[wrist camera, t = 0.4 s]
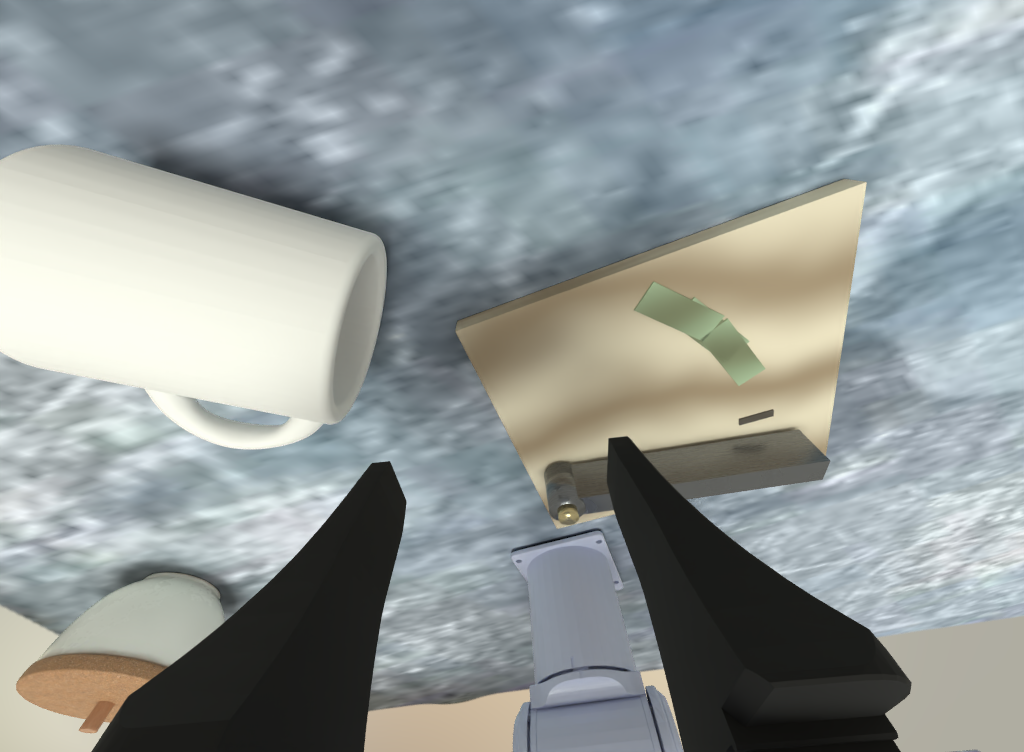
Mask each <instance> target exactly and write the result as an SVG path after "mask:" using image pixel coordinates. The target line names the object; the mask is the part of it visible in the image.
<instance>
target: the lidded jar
mask: <svg viewBox="0 0 1024 752" xmlns="http://www.w3.org/2000/svg"><path fill="white" fill-rule="evenodd" d="M220 596H221V595H220V592H219V591H218V589H217V588H216V587H215V586H213V585H212V584H210V583H209V582H207V581H205V580H203V579H200V578H198V577H195V576H192V575H187V574H182V573H175V572H161V573H155V574H151V575H149V576H147V577H146V578H145V579H144V580H142V581H138V582H135V583H132V584H129V585H127V586H125V587H122V588H120V589H118V590H116V591H114V592H112V593H110V594H109V595H107V596H105V597H104V598H102V599H101V600H99V601H98V602H97V603H95V604H94V605H92V606H91V607H90V608H89V609H87V610H86V611H85V612H84V613H83V614H82V615H80V616H79V617H78V618H77V619H76V620H75V621H74V622H73V623H72V624H71V625H70V626H69V627H67V628H66V629H65V630H64V631H63V632H62V633H61V634H60V636H59V637H58V638H57V639H56V640H55V641H54V642H53V643H52V644H51V645H50V646H49V648H48V649H47V650H46V651H45V652H44V654H43V655H42V656H41V657H40V658H39V659H38V661H36V662H35V663H33V664H32V665H31V666H30V667H29V668H28V669H27V670H26V671H25V672H24V674H23V675H22V676H21V677H20V679H19V680H18V681H17V684H16V690H17V691H18V693H19V694H20V695H21V696H22V697H23V698H24V699H26V700H27V701H29V702H31V703H33V704H35V705H37V706H39V707H42V708H44V709H47V710H50V711H53V712H57V713H59V714H63V715H68V716H72V717H77V718H82V719H86V720H85V722H84V723H83V725H82V726H81V727H80V729H79V731H81V732H85V733H96V732H97V731H98V729H99V728H100V726H101V725H102V723H103V722H111V721H112V720H113V718H114V717H115V715H116V713H117V712H118V710H119V709H120V707H121V706H122V704H123V703H124V701H125V700H126V698H127V697H128V696H129V695H130V694H132V693H133V692H135V691H136V690H137V689H139V688H140V687H142V686H143V685H144V684H146V683H147V682H148V681H150V680H151V679H152V678H154V677H155V676H156V675H158V674H159V673H160V672H162V671H163V670H165V669H166V668H167V667H169V666H170V665H171V664H173V663H174V662H175V661H177V660H178V659H179V658H181V657H182V656H183V655H185V654H186V653H187V652H188V651H190V650H191V649H192V648H194V647H195V646H196V645H197V644H199V643H200V642H201V641H202V640H203V639H205V638H206V637H207V636H208V635H210V634H211V633H212V632H213V631H215V630H216V629H217V628H218V627H219V626H221V625H222V624H223V623H224V622H225V620H224V612H223V608H222V605H221V603H220V601H219V600H220Z"/></svg>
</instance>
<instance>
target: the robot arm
mask: <svg viewBox="0 0 1024 752" xmlns="http://www.w3.org/2000/svg"><path fill="white" fill-rule="evenodd" d="M607 485H608V489H609V493H610V497H611V501H612V505H613V509H614V512H615V515H616V518H617V520H618V523H619V526H620V529H621V531H622V534H623V537H624V539H625V542H626V545H627V547H628V550H629V553H630V555H631V558H632V561H633V564H634V566H635V569H636V572H637V574H638V577H639V580H640V583H641V586H642V589H643V592H644V595H645V599H646V603H647V606H648V610H649V614H650V617H651V621H652V625H653V628H654V632H655V636H656V640H657V644H658V647H659V651H660V655H661V659H662V663H663V667H664V671H665V675H666V679H667V683H668V687H669V691H670V695H671V698H672V703H673V707H674V711H675V716H676V720H677V724H678V729H679V732H680V737H681V741H682V745H681V742H680V738H679V735H678V732H677V729H676V726H675V723H674V719H673V716H672V713H671V711H670V708H669V705H668V703H667V700H666V698H665V696H663V695H662V694H661V693H660V692H659V691H657V690H656V688H655V687H654V686H646V694H647V697H646V694H645V690H644V686H643V682H642V678H641V675H640V672H639V671H637V670H636V666H635V662H634V658H633V654H632V651H631V647H630V643H629V639H628V635H627V631H626V628H625V624H624V620H623V616H622V612H621V609H620V605H619V601H618V597H617V593H616V591H617V590H621V589H622V588H623V583H622V580H621V578H620V575H619V573H618V570H617V568H616V565H615V563H614V560H613V558H612V555H611V553H610V551H609V548H608V546H607V543H606V541H605V538H604V536H603V533H602V532H600V531H594V532H590V533H586V534H582V535H578V536H574V537H570V538H566V539H562V540H558V541H554V542H550V543H546V544H542V545H538V546H534V547H530V548H526V549H522V550H518V551H514V552H512V553H511V559H512V561H513V562H514V564H515V565H516V567H517V568H518V570H519V571H520V573H521V574H522V576H523V577H524V578H525V580H526V581H527V583H528V591H529V605H530V619H531V632H532V646H533V660H534V674H535V685H531V686H530V702H525V703H523V705H522V707H521V709H520V711H519V713H518V715H517V717H516V720H515V724H514V733H513V752H683V750H684V752H901V751H900V750H899V749H898V747H897V746H896V744H895V742H894V741H893V740H895V739H897V738H898V734H897V732H896V730H895V729H894V727H893V726H892V724H891V723H890V721H889V720H888V718H887V717H886V715H885V713H886V712H888V711H889V710H890V709H892V708H893V707H894V706H896V705H897V704H898V703H900V702H901V701H902V700H904V699H905V698H906V697H907V696H908V695H909V694H910V690H911V682H910V680H909V679H908V678H907V676H906V675H905V674H904V672H903V671H902V670H901V668H900V667H899V666H898V664H897V663H896V661H895V660H894V659H893V657H892V656H891V655H890V654H889V652H888V651H887V650H886V648H885V647H884V646H883V645H882V644H881V643H880V641H879V640H878V639H877V638H876V637H875V636H874V634H873V633H872V632H871V631H870V630H869V629H868V628H866V627H864V626H862V625H861V624H859V623H857V622H856V621H854V620H852V619H851V618H849V617H847V616H845V615H844V614H842V613H840V612H839V611H837V610H835V609H834V608H832V607H830V606H828V605H827V604H825V603H823V602H822V601H820V600H818V599H817V598H815V597H813V596H812V595H810V594H809V593H807V592H806V591H804V590H803V589H801V588H799V587H798V586H796V585H795V584H793V583H792V582H790V581H789V580H787V579H786V578H784V577H783V576H781V575H780V574H779V573H777V572H776V571H774V570H773V569H772V568H770V567H769V566H767V565H766V564H765V563H763V562H762V561H760V560H759V559H757V558H756V557H755V556H753V555H752V554H750V553H749V552H748V551H746V550H745V549H744V548H743V547H741V546H740V545H739V544H737V543H736V542H735V541H734V540H732V539H731V538H730V537H728V536H727V535H726V534H725V533H724V532H722V531H721V530H720V529H719V528H718V527H716V526H715V525H714V524H713V523H712V522H710V521H709V520H708V519H707V518H706V517H705V516H704V515H702V514H701V513H700V512H699V511H698V510H697V509H696V508H695V507H694V506H693V505H692V504H691V503H689V502H688V501H687V500H686V499H685V498H684V497H683V496H682V495H681V494H680V493H679V492H678V491H677V490H676V489H675V488H674V487H673V486H672V485H671V484H670V483H669V482H668V481H667V480H666V479H665V478H664V476H663V475H662V474H661V473H660V472H659V471H658V470H657V469H656V468H655V467H654V466H653V465H652V463H651V462H650V461H649V460H648V459H647V458H646V457H645V455H644V454H643V453H642V452H641V451H640V450H639V448H638V447H637V446H636V445H635V444H634V442H633V441H632V440H631V439H630V438H629V437H628V436H624V437H615V438H608V460H607ZM405 510H406V499H405V497H404V494H403V492H402V489H401V487H400V484H399V482H398V480H397V477H396V475H395V472H394V470H393V467H392V465H391V463H390V461H388V462H379V463H372V464H371V465H370V466H369V467H368V469H367V470H366V471H365V472H364V474H363V475H362V476H361V478H360V479H359V480H358V481H357V483H356V484H355V485H354V487H353V488H352V489H351V491H350V492H349V493H348V494H347V496H346V497H345V498H344V499H343V501H342V502H341V503H340V504H339V506H338V507H337V508H336V509H335V511H334V512H333V513H332V514H331V516H330V517H329V518H328V519H327V521H326V522H325V523H324V524H323V525H322V526H321V528H320V529H319V530H318V531H317V532H316V533H315V534H314V536H313V537H312V538H311V539H310V540H309V541H308V542H307V544H306V545H305V546H304V547H303V548H302V549H301V550H300V551H299V553H298V554H297V555H296V556H295V557H294V558H293V559H292V560H291V561H290V562H289V563H288V564H287V565H286V566H285V567H284V568H283V569H282V570H281V571H280V572H279V573H278V574H277V575H276V576H275V577H274V578H273V579H272V580H271V581H270V582H269V583H268V584H267V585H266V586H265V587H264V588H262V589H261V590H260V591H259V592H258V593H257V594H256V595H255V596H254V597H252V598H251V599H250V600H249V601H248V602H247V603H246V604H245V605H244V606H243V607H241V608H240V609H239V610H238V611H237V612H236V613H235V614H234V615H232V616H231V617H230V618H229V619H228V620H227V621H225V622H224V623H223V624H222V625H221V626H219V627H218V628H217V629H216V630H215V631H213V632H212V633H211V634H210V635H208V636H207V637H206V638H205V639H203V640H202V641H201V642H200V643H199V644H197V645H196V646H195V647H194V648H192V649H191V650H190V651H188V652H187V653H186V654H185V655H183V656H182V657H181V658H179V659H178V660H177V661H175V662H174V663H173V664H171V665H170V666H169V667H167V668H166V669H165V670H163V671H162V672H160V673H159V674H158V675H156V676H155V677H154V678H152V679H151V680H150V681H148V682H147V683H146V684H144V685H143V686H142V687H140V688H139V689H137V690H136V691H135V692H133V693H132V694H130V695H129V696H128V697H127V698H126V700H125V701H124V703H123V704H122V706H121V707H120V709H119V710H118V712H117V713H116V715H115V717H114V718H113V720H112V721H111V723H110V724H109V726H108V727H107V729H106V730H105V732H104V733H103V735H102V736H101V738H100V740H99V741H98V743H97V744H96V746H95V747H94V749H93V750H92V752H364V743H365V732H366V723H367V715H368V707H369V698H370V690H371V683H372V675H373V668H374V661H375V654H376V648H377V641H378V635H379V629H380V623H381V617H382V612H383V608H384V603H385V599H386V595H387V591H388V587H389V584H390V580H391V576H392V572H393V568H394V564H395V560H396V556H397V553H398V549H399V545H400V541H401V536H402V532H403V526H404V519H405ZM647 699H648V700H647ZM682 746H683V748H682ZM953 752H980V751H978V750H966V751H953Z"/></svg>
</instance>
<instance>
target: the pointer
mask: <svg viewBox="0 0 1024 752" xmlns="http://www.w3.org/2000/svg"><path fill="white" fill-rule="evenodd" d="M644 455H645V457H646V458H647V459H648V460H649V461H650V462H651V463H652V465H653V466H654V467H655V468H656V469H657V470H658V471H659V472H660V473H661V474H662V475H663V476H664V478H665V479H666V480H667V481H668V482H669V483H670V484H671V485H672V486H673V487H674V488H675V489H676V490H677V491H678V492H679V493H680V494H681V495H682V496H683V497H684V498H685V499H693V498H700V497H707V496H713V495H720V494H727V493H734V492H741V491H747V490H754V489H761V488H768V487H775V486H782V485H788V484H795V483H802V482H809V481H816V480H822V479H823V477H824V475H825V472H826V470H827V468H828V465H829V463H830V460H829V459H828V458H827V457H826V456H825V455H824V454H823V453H822V452H821V451H820V450H819V449H818V448H817V447H816V446H815V445H814V444H813V443H812V442H811V441H810V440H809V439H808V438H807V437H806V436H805V435H804V434H803V433H802V432H801V431H800V430H793V431H786V432H780V433H774V434H767V435H761V436H754V437H748V438H742V439H735V440H729V441H722V442H716V443H710V444H703V445H697V446H690V447H684V448H678V449H671V450H665V451H659V452H652V453H646V454H644ZM607 460H608V459H607ZM607 460H601V461H595V462H588V463H582V464H575V465H572V464H569V463H565V462H560V463H555V464H552V465H551V466H549V467H548V468H547V469H546V470H545V472H544V480H545V487H546V494H547V501H548V508H549V514H550V516H551V517H552V518H553V519H555V520H558V521H559V522H560V523H561V524H563V525H572V524H575V523H576V522H577V521H578V520H579V517H581V516H582V515H584V514H591V513H598V512H604V511H611V510H614V509H613V505H612V501H611V497H610V493H609V489H608V485H607Z"/></svg>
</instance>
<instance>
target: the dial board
mask: <svg viewBox="0 0 1024 752" xmlns="http://www.w3.org/2000/svg"><path fill="white" fill-rule="evenodd" d="M866 183H867V182H862V181H856V180H849V179H843V180H840V181H837V182H834V183H832V184H829V185H826V186H824V187H821V188H818V189H815V190H813V191H810V192H807V193H805V194H802V195H799V196H796V197H794V198H791V199H788V200H785V201H783V202H780V203H777V204H775V205H772V206H769V207H766V208H764V209H761V210H758V211H756V212H753V213H750V214H747V215H745V216H742V217H739V218H736V219H734V220H731V221H728V222H726V223H723V224H720V225H717V226H715V227H712V228H709V229H707V230H704V231H701V232H698V233H696V234H693V235H690V236H687V237H685V238H682V239H679V240H677V241H674V242H671V243H668V244H666V245H663V246H660V247H657V248H655V249H652V250H649V251H647V252H644V253H641V254H638V255H636V256H633V257H630V258H628V259H625V260H622V261H619V262H617V263H614V264H611V265H608V266H606V267H603V268H600V269H598V270H595V271H592V272H589V273H587V274H584V275H581V276H579V277H576V278H573V279H570V280H568V281H565V282H562V283H559V284H557V285H554V286H551V287H549V288H546V289H543V290H540V291H538V292H535V293H532V294H530V295H527V296H524V297H521V298H519V299H516V300H513V301H510V302H508V303H505V304H502V305H500V306H497V307H494V308H491V309H489V310H486V311H483V312H481V313H478V314H475V315H472V316H470V317H467V318H464V319H461V320H459V321H457V325H456V330H455V332H456V334H457V336H458V337H459V339H460V341H461V343H462V345H463V347H464V349H465V351H466V353H467V355H468V357H469V359H470V361H471V363H472V365H473V367H474V369H475V370H476V372H477V374H478V376H479V378H480V380H481V382H482V384H483V386H484V388H485V390H486V392H487V394H488V396H489V398H490V400H491V402H492V404H493V405H494V407H495V409H496V411H497V413H498V415H499V417H500V419H501V421H502V423H503V425H504V427H505V429H506V431H507V433H508V435H509V437H510V439H511V440H512V442H513V444H514V446H515V448H516V450H517V452H518V454H519V456H520V458H521V460H522V462H523V464H524V466H525V468H526V470H527V472H528V473H529V475H530V477H531V479H532V481H533V483H534V485H535V487H536V489H537V491H538V493H539V495H540V497H541V499H542V501H543V503H544V505H545V507H546V508H547V510H548V512H549V508H548V501H547V494H546V487H545V480H544V472H545V470H546V469H547V468H548V467H549V466H551V465H552V464H555V463H560V462H565V463H569V464H572V465H575V464H582V463H588V462H595V461H601V460H607V459H608V438H615V437H624V436H628V437H629V438H630V439H631V440H632V441H633V442H634V444H635V445H636V446H637V447H638V448H639V450H640V451H641V452H642V453H643V454H646V453H652V452H659V451H665V450H671V449H678V448H684V447H690V446H697V445H703V444H710V443H716V442H722V441H729V440H735V439H742V438H748V437H754V436H761V435H767V434H774V433H780V432H786V431H793V430H800V431H801V432H802V433H803V434H804V435H805V436H806V437H807V438H808V439H809V440H810V441H811V442H812V443H813V444H814V445H815V446H816V447H817V448H818V449H819V450H820V451H821V452H822V453H823V454H824V455H825V456H826V451H827V444H828V437H829V431H830V424H831V417H832V411H833V404H834V397H835V391H836V384H837V377H838V370H839V364H840V357H841V350H842V344H843V337H844V330H845V324H846V317H847V310H848V303H849V297H850V290H851V283H852V277H853V270H854V263H855V257H856V250H857V243H858V237H859V230H860V223H861V216H862V210H863V203H864V196H865V190H866ZM613 514H615V512H614V510H611V511H604V512H598V513H591V514H584V515H582V516H581V517H579V520H578V521H577V522H576V523H575V524H578V523H582V522H586V521H590V520H594V519H598V518H602V517H606V516H610V515H613ZM551 518H552V517H551ZM552 520H553V522H554V524H555V526H556V528H557V529H558V528H562V527H566V526H570V525H563V524H561V523H560V522H559V521H558V520H555V519H553V518H552ZM572 525H574V524H572Z"/></svg>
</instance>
